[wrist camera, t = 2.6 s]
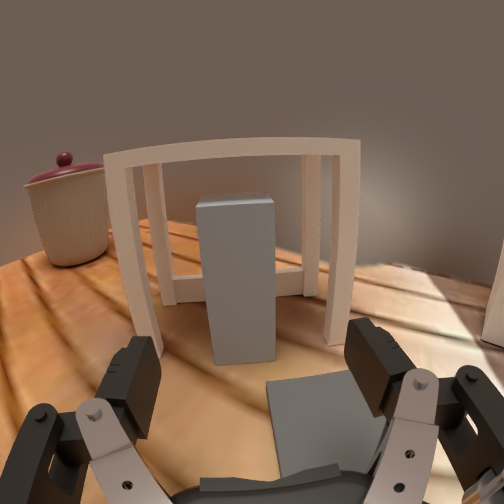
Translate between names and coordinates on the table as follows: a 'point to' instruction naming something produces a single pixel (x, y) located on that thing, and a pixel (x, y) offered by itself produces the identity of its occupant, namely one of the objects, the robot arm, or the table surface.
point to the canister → (71, 210)
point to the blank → (239, 275)
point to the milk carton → (495, 309)
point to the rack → (286, 279)
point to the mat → (322, 423)
